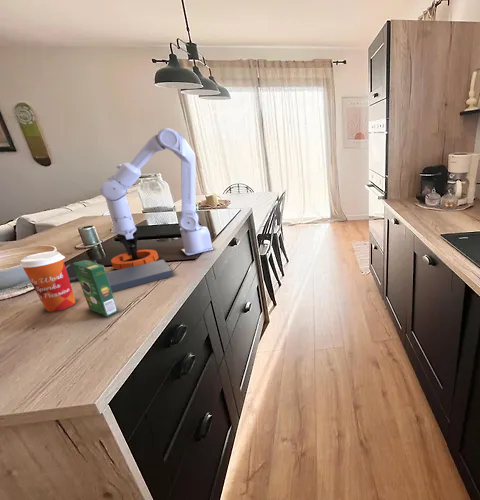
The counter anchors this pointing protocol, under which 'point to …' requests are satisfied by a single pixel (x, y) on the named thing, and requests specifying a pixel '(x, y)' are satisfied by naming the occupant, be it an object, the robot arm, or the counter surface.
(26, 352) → the counter surface
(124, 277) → the blue-grey rectangular slab
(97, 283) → the coffee box
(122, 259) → the orange ring
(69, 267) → the phone
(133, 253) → the hook post
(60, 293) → the paper cup
